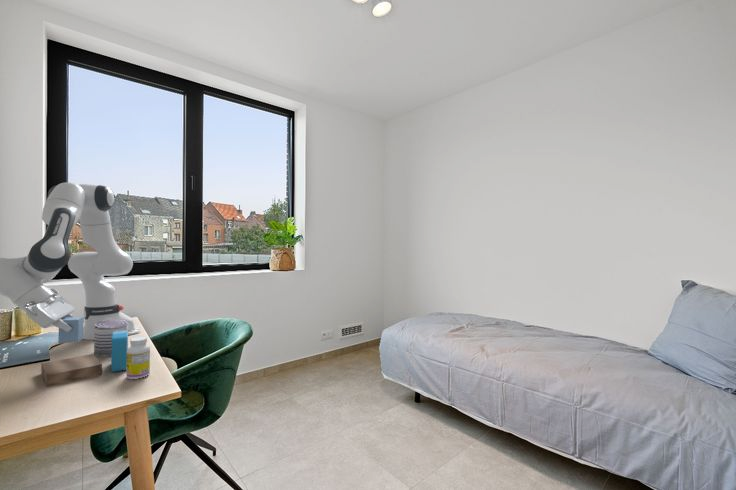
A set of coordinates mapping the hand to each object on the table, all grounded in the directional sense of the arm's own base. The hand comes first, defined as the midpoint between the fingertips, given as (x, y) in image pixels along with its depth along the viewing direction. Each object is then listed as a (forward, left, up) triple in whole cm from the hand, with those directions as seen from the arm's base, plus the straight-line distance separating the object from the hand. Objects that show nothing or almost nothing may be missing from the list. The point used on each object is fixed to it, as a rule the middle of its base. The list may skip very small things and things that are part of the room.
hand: (74, 327), depth 119 cm
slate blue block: (+1, 0, -4) cm, 4 cm away
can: (-15, -18, -16) cm, 28 cm away
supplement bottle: (-15, +17, -16) cm, 27 cm away
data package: (-13, +3, -16) cm, 21 cm away
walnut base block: (0, 0, -16) cm, 16 cm away
